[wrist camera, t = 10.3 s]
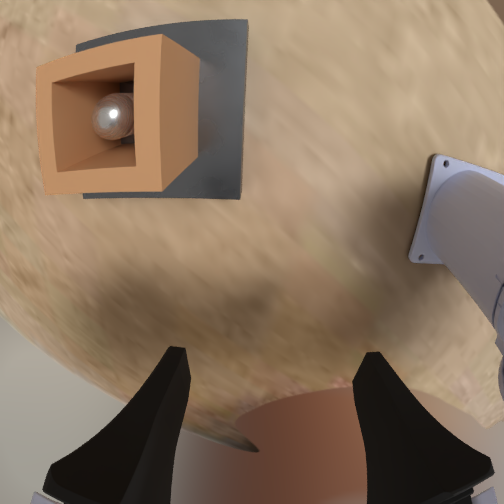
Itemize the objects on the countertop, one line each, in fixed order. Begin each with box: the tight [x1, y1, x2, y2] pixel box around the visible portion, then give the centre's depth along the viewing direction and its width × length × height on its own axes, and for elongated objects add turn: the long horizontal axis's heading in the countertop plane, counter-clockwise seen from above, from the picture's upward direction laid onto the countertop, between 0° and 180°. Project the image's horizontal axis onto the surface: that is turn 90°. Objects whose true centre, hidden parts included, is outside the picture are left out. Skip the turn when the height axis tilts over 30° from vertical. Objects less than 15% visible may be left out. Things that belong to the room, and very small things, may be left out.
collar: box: [36, 34, 200, 195], centre depth 10 cm, size 5×5×6 cm
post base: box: [76, 19, 249, 200], centre depth 12 cm, size 10×10×6 cm
